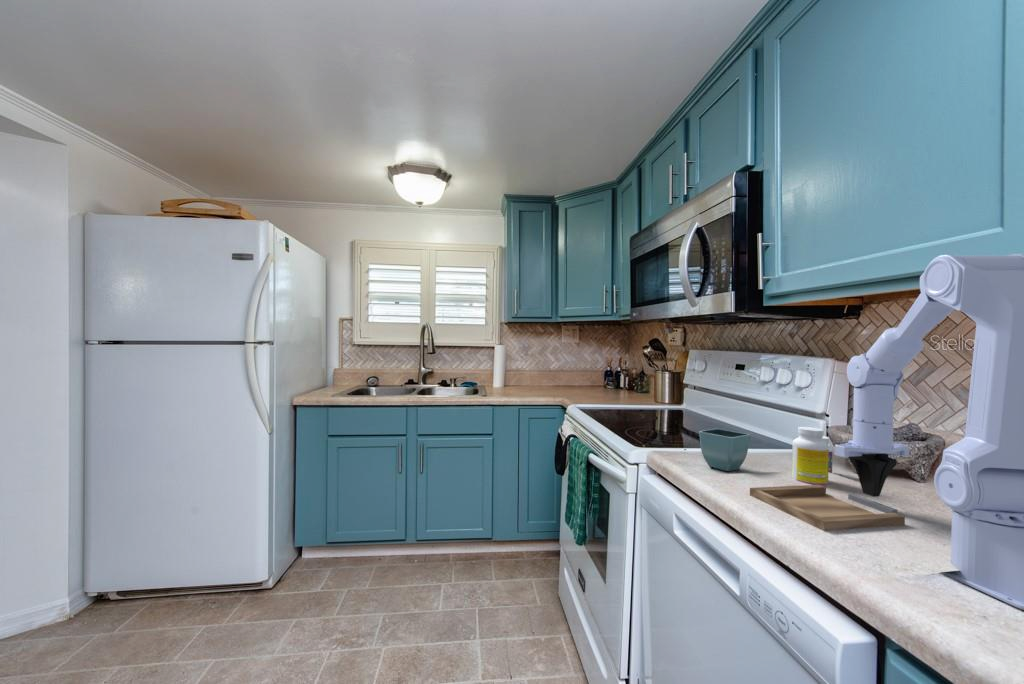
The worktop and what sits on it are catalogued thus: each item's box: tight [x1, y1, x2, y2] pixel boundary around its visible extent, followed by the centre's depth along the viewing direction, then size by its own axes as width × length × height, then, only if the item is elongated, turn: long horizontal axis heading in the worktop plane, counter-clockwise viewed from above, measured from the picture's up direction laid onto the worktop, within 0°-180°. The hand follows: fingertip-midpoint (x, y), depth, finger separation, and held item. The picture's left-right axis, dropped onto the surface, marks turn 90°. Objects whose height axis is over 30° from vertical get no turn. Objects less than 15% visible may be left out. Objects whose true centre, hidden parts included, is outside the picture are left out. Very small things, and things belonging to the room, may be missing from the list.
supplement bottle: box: [791, 426, 829, 486], centre depth 95 cm, size 7×7×13 cm
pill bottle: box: [822, 435, 834, 474], centre depth 106 cm, size 5×5×9 cm
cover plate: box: [847, 493, 899, 514], centre depth 80 cm, size 12×12×3 cm
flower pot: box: [698, 428, 751, 472], centre depth 108 cm, size 9×9×9 cm
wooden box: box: [749, 484, 906, 532], centre depth 77 cm, size 16×16×3 cm
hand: (871, 494), depth 80 cm, fingers closed
